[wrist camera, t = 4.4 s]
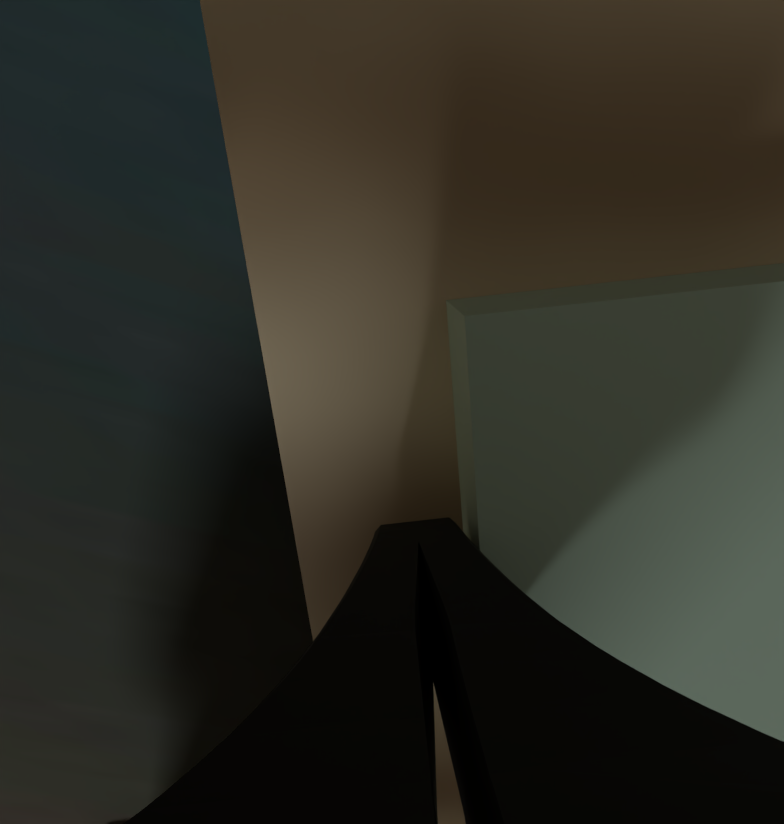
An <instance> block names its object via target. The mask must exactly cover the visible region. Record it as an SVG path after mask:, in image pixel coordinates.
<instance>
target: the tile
mask: <svg viewBox="0 0 784 824" xmlns="http://www.w3.org/2000/svg"><path fill="white" fill-rule="evenodd" d="M446 308H447V321H448V335H449V348H450V362H451V375H452V389H453V402H454V416H455V429H456V443H457V456H458V469H459V483H460V496H461V510H462V523H463V532H464V533H465V535H466V536H467V537H468V538H469V539H470V540H471V541H472V543H473V544H474V545H475V546H476V547H477V548H478V549H479V550H480V551H481V552H482V553H483V554H484V555H485V556H486V557H487V558H488V559H489V560H490V561H491V562H492V563H493V564H494V565H495V566H496V567H497V568H498V569H499V570H500V571H501V572H502V573H503V574H504V575H505V576H506V577H507V578H508V579H509V580H510V581H511V582H513V583H514V584H515V585H516V586H517V587H518V588H519V589H520V590H522V591H523V592H524V593H525V594H526V595H527V596H529V597H530V598H531V599H532V600H533V601H535V602H536V603H537V604H538V605H540V606H541V607H542V608H543V609H544V610H546V611H547V612H548V613H549V614H551V615H552V616H553V617H555V618H556V619H557V620H559V621H560V622H561V623H563V624H564V625H566V626H567V627H569V628H570V629H572V630H573V631H575V632H576V633H578V634H579V635H580V636H582V637H583V638H585V639H586V640H588V641H589V642H591V643H592V644H594V645H595V646H597V647H598V648H600V649H602V650H603V651H605V652H607V653H608V654H610V655H612V656H613V657H615V658H616V659H618V660H620V661H622V662H623V663H625V664H627V665H629V666H630V667H632V668H634V669H636V670H638V671H639V672H641V673H643V674H645V675H646V676H648V677H650V678H652V679H654V680H655V681H657V682H659V683H661V684H662V685H664V686H666V687H668V688H670V689H672V690H674V691H676V692H678V693H680V694H682V695H684V696H686V697H688V698H690V699H692V700H694V701H696V702H698V703H700V704H702V705H704V706H706V707H708V708H710V709H712V710H715V711H717V712H719V713H721V714H723V715H725V716H727V717H730V718H732V719H734V720H736V721H738V722H740V723H743V724H745V725H747V726H749V727H751V728H753V729H755V730H758V731H760V732H762V733H764V734H767V735H769V736H771V737H774V738H776V739H778V740H781V741H783V742H784V263H779V264H770V265H761V266H751V267H742V268H733V269H724V270H715V271H706V272H697V273H688V274H679V275H670V276H661V277H652V278H642V279H633V280H624V281H615V282H606V283H597V284H588V285H579V286H570V287H561V288H552V289H543V290H534V291H524V292H515V293H506V294H497V295H488V296H479V297H470V298H461V299H452V300H446Z"/></svg>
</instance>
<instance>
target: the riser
mask: <svg viewBox="0 0 784 824" xmlns="http://www.w3.org/2000/svg"><path fill="white" fill-rule="evenodd" d="M200 4H201V10H202V15H203V21H204V26H205V32H206V38H207V43H208V49H209V55H210V60H211V66H212V72H213V77H214V83H215V89H216V94H217V100H218V106H219V111H220V117H221V123H222V128H223V134H224V140H225V145H226V151H227V157H228V162H229V168H230V174H231V179H232V185H233V191H234V196H235V202H236V208H237V213H238V219H239V225H240V230H241V236H242V241H243V247H244V253H245V258H246V264H247V270H248V275H249V281H250V287H251V292H252V298H253V304H254V309H255V315H256V321H257V326H258V332H259V338H260V343H261V349H262V355H263V360H264V366H265V372H266V377H267V383H268V389H269V394H270V400H271V406H272V411H273V417H274V423H275V428H276V434H277V439H278V445H279V451H280V456H281V462H282V468H283V473H284V479H285V485H286V490H287V496H288V502H289V507H290V513H291V519H292V524H293V530H294V536H295V541H296V547H297V553H298V558H299V564H300V570H301V575H302V581H303V587H304V592H305V598H306V604H307V609H308V615H309V621H310V626H311V632H312V637H313V641H314V639H315V638H316V637H317V635H318V634H319V633H320V631H321V630H322V628H323V627H324V625H325V624H326V622H327V621H328V619H329V618H330V616H331V615H332V613H333V612H334V610H335V609H336V607H337V606H338V604H339V603H340V601H341V599H342V598H343V596H344V594H345V593H346V591H347V589H348V587H349V586H350V584H351V582H352V580H353V578H354V577H355V575H356V573H357V571H358V570H359V568H360V566H361V564H362V562H363V560H364V558H365V556H366V553H367V551H368V549H369V547H370V544H371V542H372V539H373V537H374V533H375V531H376V530H377V529H378V528H379V526H380V525H384V524H393V523H402V522H411V521H420V520H429V519H438V518H447V517H449V518H451V519H452V520H453V521H454V522H456V524H457V525H458V526H459V527H460V529H461V530H462V531H463V523H462V510H461V496H460V483H459V469H458V456H457V443H456V429H455V416H454V402H453V389H452V375H451V362H450V348H449V335H448V321H447V308H446V300H452V299H461V298H470V297H479V296H488V295H497V294H506V293H515V292H524V291H534V290H543V289H552V288H561V287H570V286H579V285H588V284H597V283H606V282H615V281H624V280H633V279H642V278H652V277H661V276H670V275H679V274H688V273H697V272H706V271H715V270H724V269H733V268H742V267H751V266H761V265H770V264H779V263H784V0H200ZM433 691H434V722H435V755H436V787H437V816H438V824H466V822H465V817H464V812H463V807H462V803H461V799H460V795H459V790H458V786H457V782H456V777H455V773H454V769H453V765H452V760H451V756H450V752H449V747H448V743H447V739H446V735H445V730H444V726H443V722H442V718H441V713H440V709H439V705H438V700H437V696H436V692H435V687H434V683H433Z"/></svg>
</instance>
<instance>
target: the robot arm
mask: <svg viewBox="0 0 784 824" xmlns="http://www.w3.org/2000/svg"><path fill="white" fill-rule="evenodd" d="M433 683H434V687H435V692H436V696H437V700H438V705H439V709H440V713H441V718H442V722H443V726H444V730H445V735H446V739H447V743H448V747H449V752H450V756H451V760H452V765H453V769H454V773H455V777H456V782H457V786H458V790H459V795H460V799H461V803H462V807H463V812H464V817H465V822H466V824H784V742H783V741H781V740H778V739H776V738H774V737H771V736H769V735H767V734H764V733H762V732H760V731H758V730H755V729H753V728H751V727H749V726H747V725H745V724H743V723H740V722H738V721H736V720H734V719H732V718H730V717H727V716H725V715H723V714H721V713H719V712H717V711H715V710H712V709H710V708H708V707H706V706H704V705H702V704H700V703H698V702H696V701H694V700H692V699H690V698H688V697H686V696H684V695H682V694H680V693H678V692H676V691H674V690H672V689H670V688H668V687H666V686H664V685H662V684H661V683H659V682H657V681H655V680H654V679H652V678H650V677H648V676H646V675H645V674H643V673H641V672H639V671H638V670H636V669H634V668H632V667H630V666H629V665H627V664H625V663H623V662H622V661H620V660H618V659H616V658H615V657H613V656H612V655H610V654H608V653H607V652H605V651H603V650H602V649H600V648H598V647H597V646H595V645H594V644H592V643H591V642H589V641H588V640H586V639H585V638H583V637H582V636H580V635H579V634H578V633H576V632H575V631H573V630H572V629H570V628H569V627H567V626H566V625H564V624H563V623H561V622H560V621H559V620H557V619H556V618H555V617H553V616H552V615H551V614H549V613H548V612H547V611H546V610H544V609H543V608H542V607H541V606H540V605H538V604H537V603H536V602H535V601H533V600H532V599H531V598H530V597H529V596H527V595H526V594H525V593H524V592H523V591H522V590H520V589H519V588H518V587H517V586H516V585H515V584H514V583H513V582H511V581H510V580H509V579H508V578H507V577H506V576H505V575H504V574H503V573H502V572H501V571H500V570H499V569H498V568H497V567H496V566H495V565H494V564H493V563H492V562H491V561H490V560H489V559H488V558H487V557H486V556H485V555H484V554H483V553H482V552H481V551H480V550H479V549H478V548H477V547H476V546H475V545H474V544H473V543H472V541H471V540H470V539H469V538H468V537H467V536H466V535H465V533H464V532H463V531H462V530H461V529H460V527H459V526H458V525H457V524H456V522H454V521H453V520H452V519H451V518H449V517H447V518H438V519H429V520H420V521H411V522H402V523H393V524H384V525H380V526H379V528H378V529H377V530H376V531H375V533H374V537H373V539H372V542H371V544H370V547H369V549H368V551H367V553H366V556H365V558H364V560H363V562H362V564H361V566H360V568H359V570H358V571H357V573H356V575H355V577H354V578H353V580H352V582H351V584H350V586H349V587H348V589H347V591H346V593H345V594H344V596H343V598H342V599H341V601H340V603H339V604H338V606H337V607H336V609H335V610H334V612H333V613H332V615H331V616H330V618H329V619H328V621H327V622H326V624H325V625H324V627H323V628H322V630H321V631H320V633H319V634H318V635H317V637H316V638H315V639H314V641H313V642H312V644H311V645H310V646H309V648H308V649H307V650H306V651H305V653H304V654H303V655H302V657H301V658H300V659H299V660H298V662H297V663H296V664H295V665H294V666H293V668H292V669H291V670H290V671H289V672H288V674H287V675H286V676H285V677H284V678H283V680H282V681H281V682H280V683H279V684H278V685H277V686H276V687H275V688H274V690H273V691H272V692H271V693H270V694H269V695H268V696H267V697H266V698H265V699H264V700H263V701H262V703H261V704H260V705H259V706H258V707H257V708H256V709H255V710H254V711H253V712H252V713H251V714H250V715H249V716H248V717H247V718H246V719H245V720H244V721H243V722H242V723H241V724H240V725H239V726H238V727H237V728H236V729H235V730H234V731H233V732H232V733H231V734H230V735H229V736H228V737H227V738H226V739H225V740H224V741H223V742H221V743H220V744H219V745H218V746H217V747H216V748H215V749H214V750H213V751H212V752H210V753H209V754H208V755H207V756H206V757H205V758H204V759H203V760H202V761H201V762H199V763H198V764H197V765H196V766H195V767H193V768H192V769H191V770H190V771H189V772H188V773H186V774H185V775H184V776H183V777H182V778H181V779H179V780H178V781H177V782H176V783H175V784H174V785H172V786H171V787H170V788H169V789H168V790H166V791H165V792H164V793H163V794H162V795H160V796H159V797H158V798H157V799H155V800H154V801H153V802H152V803H150V804H149V805H148V806H147V807H145V808H144V809H143V810H142V811H140V812H139V813H138V814H136V815H135V816H134V817H132V818H131V819H130V820H128V821H127V822H126V823H124V824H438V816H437V787H436V755H435V722H434V691H433Z"/></svg>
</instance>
